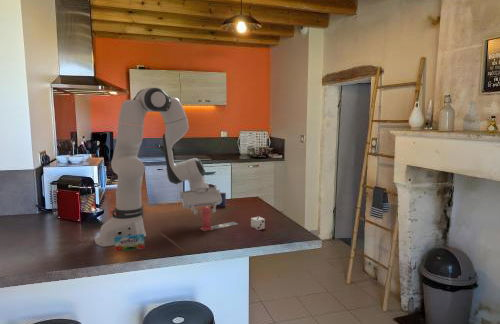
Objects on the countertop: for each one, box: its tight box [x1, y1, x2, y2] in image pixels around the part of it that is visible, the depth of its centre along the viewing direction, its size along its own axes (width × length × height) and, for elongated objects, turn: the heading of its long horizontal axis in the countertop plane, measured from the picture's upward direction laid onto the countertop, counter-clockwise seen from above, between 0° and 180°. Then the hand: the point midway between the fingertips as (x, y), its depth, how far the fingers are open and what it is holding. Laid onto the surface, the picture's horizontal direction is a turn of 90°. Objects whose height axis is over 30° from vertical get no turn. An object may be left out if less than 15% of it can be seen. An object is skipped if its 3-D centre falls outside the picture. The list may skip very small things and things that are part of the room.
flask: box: [210, 189, 227, 208], centre depth 220 cm, size 9×3×11 cm, turn 88°
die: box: [250, 216, 266, 231], centre depth 179 cm, size 5×5×5 cm
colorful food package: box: [114, 234, 146, 253], centre depth 150 cm, size 12×2×6 cm, turn 108°
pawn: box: [201, 206, 212, 231], centre depth 174 cm, size 5×5×11 cm
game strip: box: [200, 221, 238, 232], centre depth 179 cm, size 22×12×1 cm, turn 125°
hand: (205, 212), depth 175 cm, fingers open, 8 cm apart
